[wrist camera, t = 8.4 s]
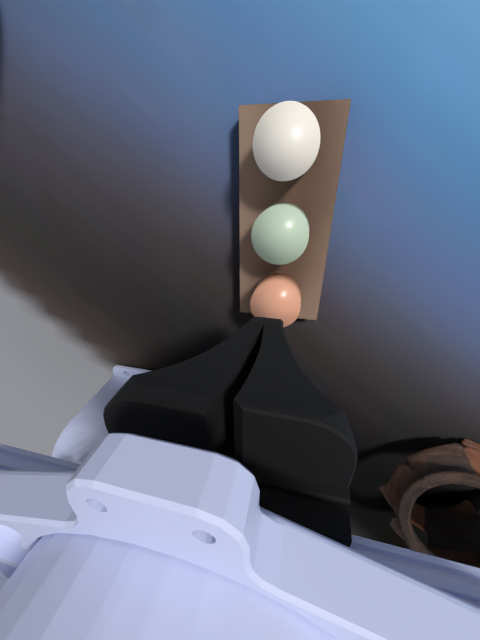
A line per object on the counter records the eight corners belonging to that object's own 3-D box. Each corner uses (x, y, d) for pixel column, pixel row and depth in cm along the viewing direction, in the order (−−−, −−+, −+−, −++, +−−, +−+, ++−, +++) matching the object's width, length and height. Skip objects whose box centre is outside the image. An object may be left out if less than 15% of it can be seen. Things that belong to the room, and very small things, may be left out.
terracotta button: (254, 313, 17) (249, 325, 16) (255, 271, 16) (250, 280, 14) (299, 317, 17) (297, 331, 15) (304, 274, 15) (303, 285, 14)
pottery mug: (362, 488, 27) (366, 553, 19) (394, 400, 26) (413, 431, 18) (515, 566, 22) (601, 693, 14) (561, 463, 21) (679, 539, 14)
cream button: (258, 179, 13) (251, 181, 12) (260, 110, 12) (253, 102, 11) (315, 180, 13) (315, 181, 12) (324, 107, 12) (325, 98, 10)
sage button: (256, 254, 15) (250, 262, 14) (257, 201, 14) (251, 204, 13) (306, 257, 15) (305, 266, 13) (312, 202, 13) (312, 206, 12)
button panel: (243, 304, 19) (240, 312, 18) (244, 109, 14) (238, 105, 13) (316, 311, 18) (316, 320, 17) (348, 104, 13) (351, 99, 12)
